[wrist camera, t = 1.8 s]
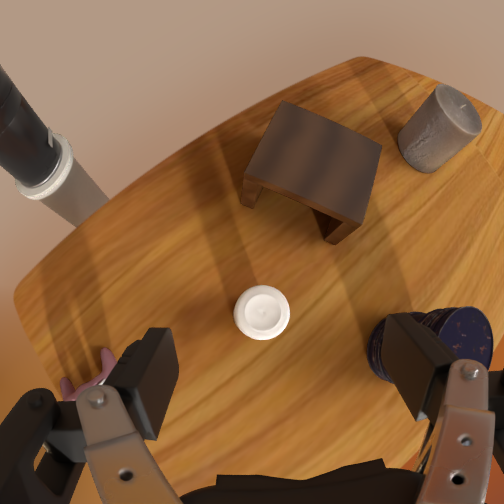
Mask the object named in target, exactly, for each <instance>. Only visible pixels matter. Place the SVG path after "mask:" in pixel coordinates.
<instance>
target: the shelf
mask: <svg viewBox="0 0 504 504" xmlns="http://www.w3.org/2000/svg"><path fill="white" fill-rule="evenodd" d="M381 149H382V145H380V144H378V143H376V142H375V141H373V140H371V139H369V138H367V137H365V136H363V135H361V134H359V133H357V132H355V131H353V130H351V129H348V128H346V127H344V126H342V125H340V124H338V123H336V122H333V121H331V120H329V119H327V118H324V117H322V116H320V115H318V114H315V113H313V112H310V111H308V110H306V109H303V108H301V107H298V106H296V105H293V104H291V103H288V102H285V101H283V100H282V102H281V103H280V105H279V107H278V109H277V111H276V113H275V115H274V116H273V118H272V120H271V122H270V124H269V126H268V128H267V129H266V131H265V133H264V135H263V137H262V139H261V141H260V143H259V145H258V147H257V149H256V150H255V152H254V154H253V156H252V158H251V160H250V162H249V164H248V166H247V168H246V170H245V172H244V179H243V188H242V196H241V204H242V205H244V206H247V207H249V208H252V209H253V208H254V205H255V203H256V201H257V199H258V197H259V195H260V192H261V190H262V188H263V187H265V188H268V189H270V190H273V191H275V192H277V193H280V194H282V195H284V196H287V197H289V198H291V199H293V200H296V201H298V202H300V203H303V204H305V205H307V206H309V207H312V208H314V209H316V210H318V211H320V212H323V213H325V214H327V215H329V216H331V217H332V218H331V221H330V224H329V226H328V229H327V232H326V235H325V238H324V240H325V241H327V242H329V243H332V244H334V245H336V244H338V243H339V242H340V241H342V240H343V239H344V238H346V237H347V236H348V235H349V234H351V233H352V232H353V231H355V230H356V229H357V228H359V227H360V226H361V225H362V224H363V220H364V217H365V213H366V210H367V206H368V202H369V198H370V195H371V191H372V187H373V183H374V179H375V175H376V171H377V166H378V162H379V158H380V153H381Z"/></svg>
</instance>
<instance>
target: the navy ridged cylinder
mask: <svg viewBox="0 0 504 504" xmlns="http://www.w3.org/2000/svg"><path fill="white" fill-rule="evenodd" d="M409 314H410V315H411V317H412V318H413V319H414V320H415V321H416V322H417V323H421V324H423V325H425V326H427V327H429V328H430V329H431V330H432V331H433V332H434V333H435V334H436V335H437V337H439V338H440V339H441V340H442V343H443V342H444V343H445V344H446V345H447V346H448V347H449V348H450V349H451V350H452V352H453V353H454V354H455V355H456V356H457V357H458V358H459V359H471V360H475V361H478V362H480V363H481V364H483V365H484V366H485V367H486V369H487V371H488V370H489V367H490V364H491V360H492V355H493V333H492V329H491V326H490V323H489V321H488V319H487V317H486V316H485V314H484V313H483V312H482V311H481V310H479V309H477V308H475V307H472V306H466V307H460V308H455V307H451V308H444V309H436V310H433V311H431V312H428V313H423V312H410V313H409ZM385 322H386V318H385V319H383V320H382V321H381V322H379V323H378V324H377V326H376V327H375V328H374V330H373V331H372V333H371V335H370V338H369V341H368V345H367V358H368V363H369V366H370V368H371V370H372V371H373V372H374V374H375V375H376V376H378V377H379V378H381V379H383V380H386V381H389V382H390V383H393V384H394V382H393V381H392V379H391V377H390V376H389V374H388V372H387V370H386V369H385V367H384V365H383V363H382V359H381V348H382V342H383V336H384V329H385Z"/></svg>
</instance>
